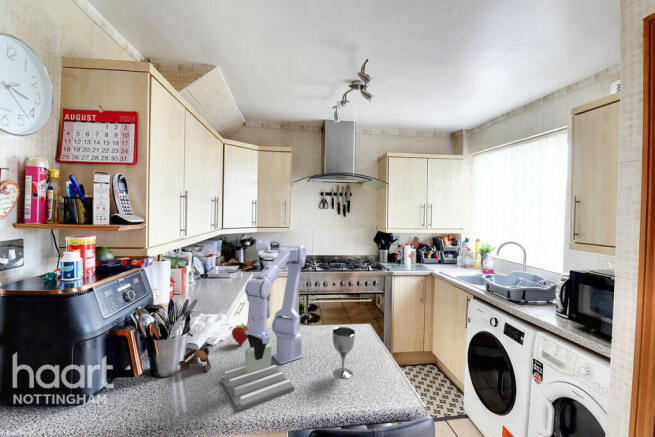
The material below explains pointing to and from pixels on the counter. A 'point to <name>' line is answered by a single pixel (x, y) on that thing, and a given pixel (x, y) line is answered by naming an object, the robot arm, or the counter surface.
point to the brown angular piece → (195, 359)
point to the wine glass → (343, 349)
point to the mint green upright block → (254, 364)
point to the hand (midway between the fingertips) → (257, 357)
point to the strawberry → (239, 333)
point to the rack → (255, 386)
